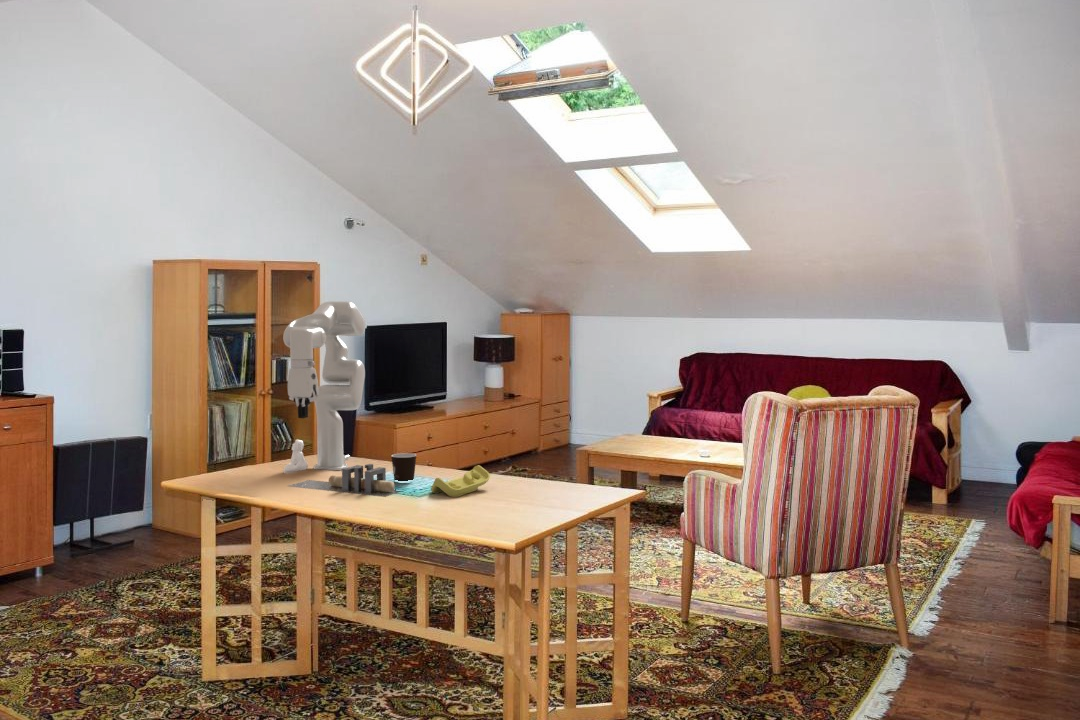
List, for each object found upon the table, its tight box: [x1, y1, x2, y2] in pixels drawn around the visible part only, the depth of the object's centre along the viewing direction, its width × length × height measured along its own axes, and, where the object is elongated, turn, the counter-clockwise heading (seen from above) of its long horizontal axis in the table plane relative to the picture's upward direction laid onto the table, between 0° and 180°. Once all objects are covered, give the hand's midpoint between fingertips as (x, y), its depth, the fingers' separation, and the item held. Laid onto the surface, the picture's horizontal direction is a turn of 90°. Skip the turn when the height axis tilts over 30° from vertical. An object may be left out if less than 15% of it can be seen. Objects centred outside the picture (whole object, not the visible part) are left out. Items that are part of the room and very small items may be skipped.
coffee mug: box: [390, 452, 417, 481], centre depth 334 cm, size 12×9×10 cm
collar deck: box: [287, 463, 403, 498], centre depth 321 cm, size 12×40×9 cm, turn 65°
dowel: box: [328, 474, 395, 492], centre depth 320 cm, size 24×4×4 cm, turn 65°
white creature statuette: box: [283, 439, 309, 474], centre depth 357 cm, size 10×9×12 cm
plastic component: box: [430, 465, 491, 498], centre depth 321 cm, size 20×7×10 cm
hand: (303, 417), depth 330 cm, fingers closed
